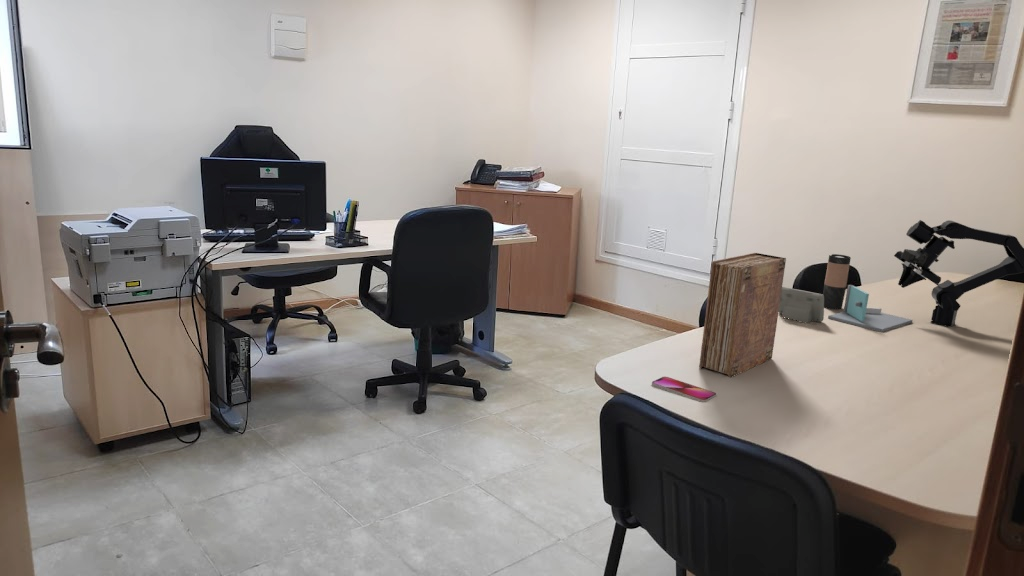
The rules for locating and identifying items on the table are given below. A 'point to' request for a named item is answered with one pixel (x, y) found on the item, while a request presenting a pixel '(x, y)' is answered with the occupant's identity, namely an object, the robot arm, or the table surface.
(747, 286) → the book
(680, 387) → the smartphone
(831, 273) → the travel mug
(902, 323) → the base board
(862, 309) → the door
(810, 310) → the digital clock
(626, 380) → the table surface
